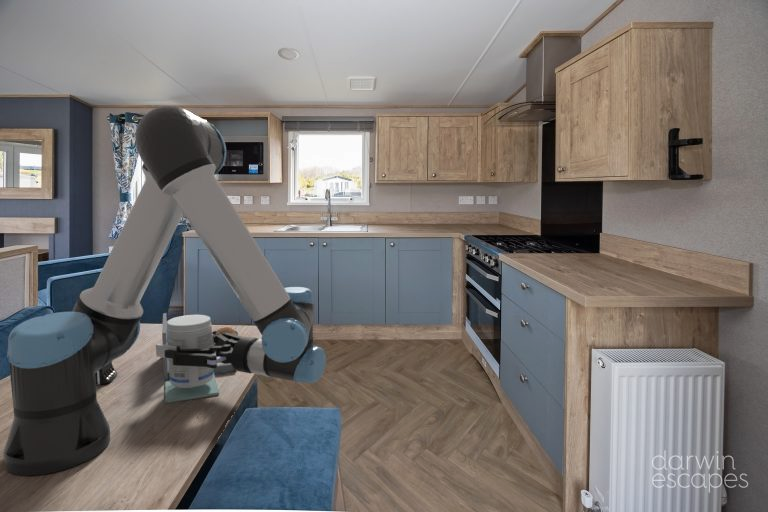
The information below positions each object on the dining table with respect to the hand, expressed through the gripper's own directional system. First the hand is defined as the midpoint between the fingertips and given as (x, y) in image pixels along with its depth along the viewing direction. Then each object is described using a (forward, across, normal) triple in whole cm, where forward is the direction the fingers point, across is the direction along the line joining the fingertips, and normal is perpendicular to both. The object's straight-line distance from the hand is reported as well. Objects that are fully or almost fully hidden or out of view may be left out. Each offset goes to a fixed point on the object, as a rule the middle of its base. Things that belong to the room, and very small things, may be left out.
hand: (175, 343), depth 106 cm
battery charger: (+18, -3, -11) cm, 21 cm away
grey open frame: (+6, +14, -10) cm, 19 cm away
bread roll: (+14, +35, -11) cm, 39 cm away
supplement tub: (-5, 0, -9) cm, 10 cm away
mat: (-4, 0, -10) cm, 11 cm away
